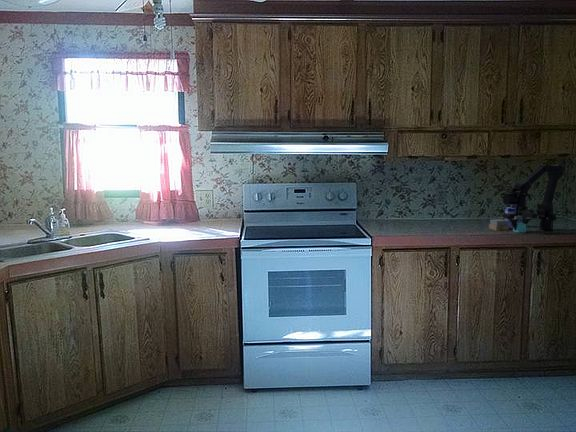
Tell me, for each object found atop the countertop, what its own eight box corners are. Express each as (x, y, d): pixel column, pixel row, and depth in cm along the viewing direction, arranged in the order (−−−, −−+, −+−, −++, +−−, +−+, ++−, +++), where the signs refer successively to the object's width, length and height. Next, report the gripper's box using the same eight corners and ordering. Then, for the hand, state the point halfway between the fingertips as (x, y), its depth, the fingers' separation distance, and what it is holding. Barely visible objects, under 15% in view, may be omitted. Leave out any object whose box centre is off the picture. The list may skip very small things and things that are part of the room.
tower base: (500, 228, 309) (500, 223, 308) (508, 230, 301) (508, 225, 300) (488, 229, 308) (489, 224, 307) (496, 231, 300) (496, 226, 299)
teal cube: (520, 230, 297) (521, 222, 297) (525, 232, 292) (526, 223, 292) (513, 231, 297) (513, 222, 296) (517, 232, 292) (518, 224, 291)
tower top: (500, 223, 308) (500, 219, 308) (507, 225, 301) (507, 220, 301) (490, 224, 307) (490, 219, 306) (496, 226, 300) (497, 221, 300)
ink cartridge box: (507, 227, 310) (508, 204, 308) (503, 225, 315) (504, 203, 313) (523, 227, 309) (524, 204, 307) (519, 225, 314) (521, 203, 312)
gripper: (514, 206, 283) (512, 233, 285) (544, 205, 285) (542, 231, 288) (503, 203, 294) (501, 229, 296) (532, 202, 296) (530, 228, 299)
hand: (519, 230), depth 294 cm, fingers closed on teal cube, 5 cm apart
